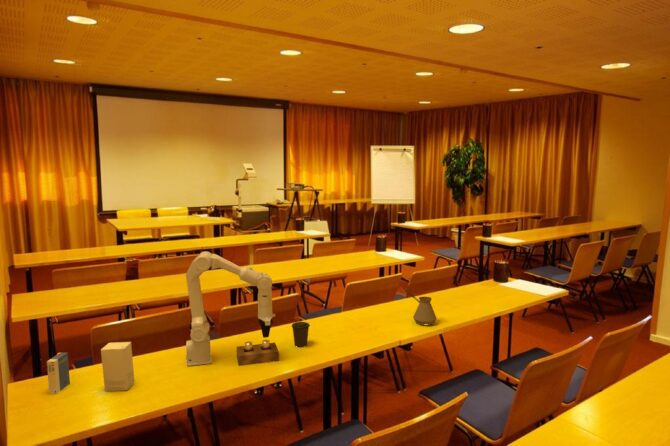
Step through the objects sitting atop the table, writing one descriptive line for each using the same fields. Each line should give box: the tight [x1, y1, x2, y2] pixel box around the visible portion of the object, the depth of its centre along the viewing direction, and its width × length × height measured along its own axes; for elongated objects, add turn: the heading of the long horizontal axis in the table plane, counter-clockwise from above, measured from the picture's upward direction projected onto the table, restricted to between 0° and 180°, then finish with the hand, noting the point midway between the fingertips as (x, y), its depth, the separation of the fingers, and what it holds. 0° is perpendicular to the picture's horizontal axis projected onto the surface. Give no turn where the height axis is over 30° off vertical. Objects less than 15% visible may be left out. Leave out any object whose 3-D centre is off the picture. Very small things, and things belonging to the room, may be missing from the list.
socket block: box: [236, 342, 280, 367], centre depth 185 cm, size 16×10×4 cm, turn 106°
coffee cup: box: [291, 321, 311, 348], centre depth 199 cm, size 8×8×10 cm
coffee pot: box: [401, 287, 437, 325], centre depth 231 cm, size 21×12×15 cm, turn 37°
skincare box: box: [100, 341, 135, 392], centre depth 160 cm, size 8×7×16 cm
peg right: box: [261, 339, 271, 350], centre depth 186 cm, size 3×3×4 cm
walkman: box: [46, 352, 71, 395], centre depth 159 cm, size 8×3×12 cm, turn 0°
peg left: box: [244, 341, 253, 352], centre depth 184 cm, size 3×3×4 cm
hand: (265, 336), depth 185 cm, fingers closed
